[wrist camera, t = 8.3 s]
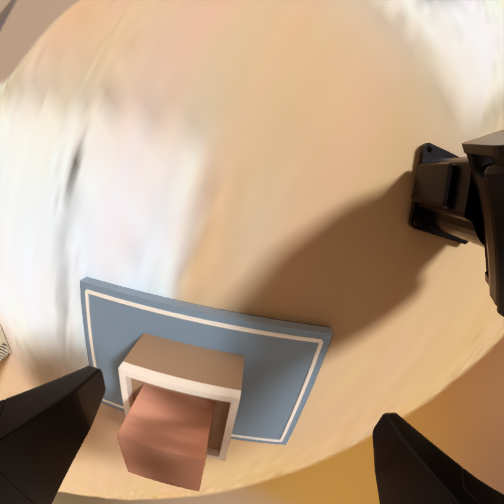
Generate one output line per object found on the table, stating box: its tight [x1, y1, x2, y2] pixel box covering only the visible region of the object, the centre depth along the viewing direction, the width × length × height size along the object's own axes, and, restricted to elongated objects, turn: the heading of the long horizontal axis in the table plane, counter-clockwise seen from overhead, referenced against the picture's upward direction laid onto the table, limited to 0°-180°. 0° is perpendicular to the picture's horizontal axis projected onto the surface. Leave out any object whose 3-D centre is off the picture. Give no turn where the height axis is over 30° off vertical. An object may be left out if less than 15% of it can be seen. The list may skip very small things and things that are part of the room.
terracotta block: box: [117, 384, 215, 491], centre depth 15 cm, size 5×5×5 cm
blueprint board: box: [80, 277, 333, 461], centre depth 19 cm, size 20×14×6 cm
